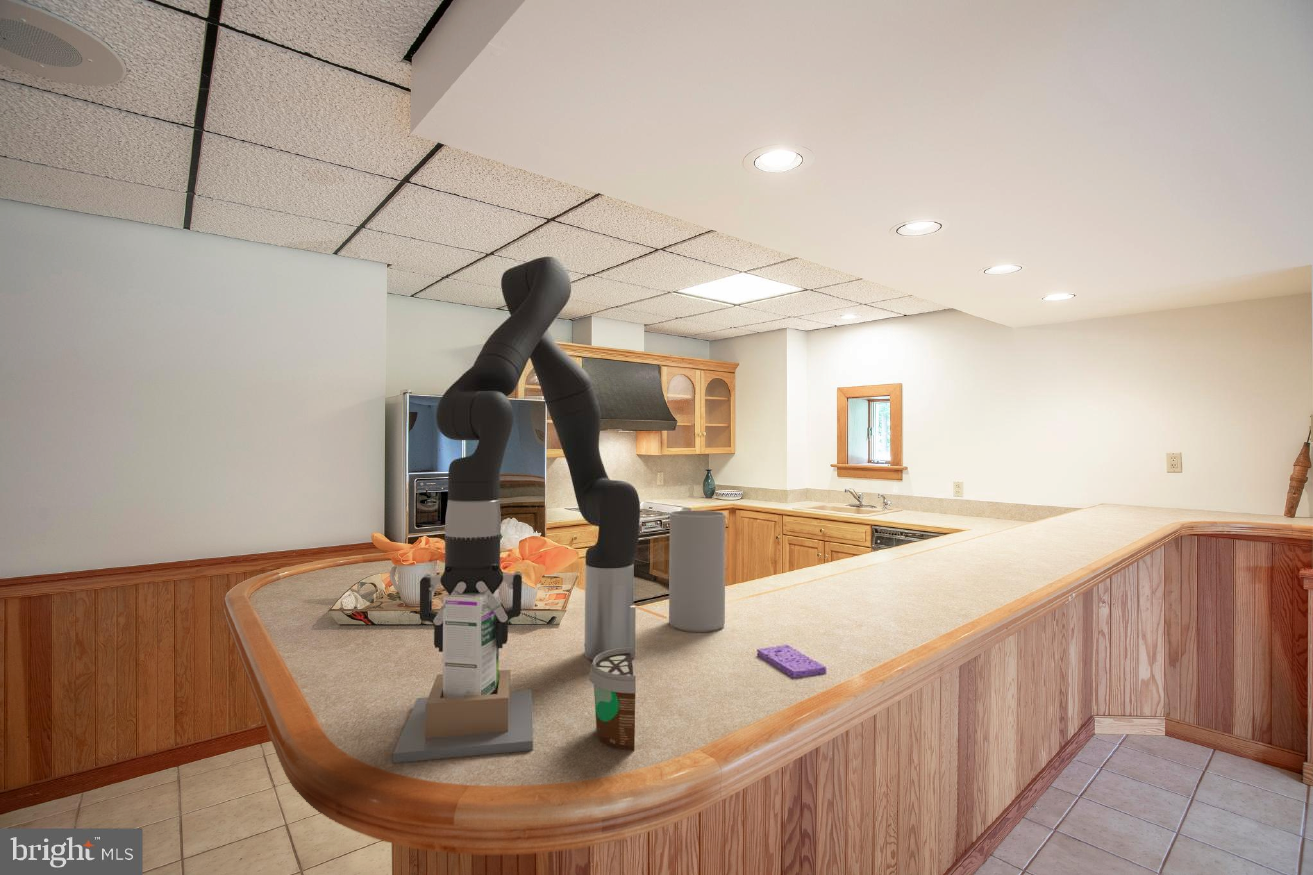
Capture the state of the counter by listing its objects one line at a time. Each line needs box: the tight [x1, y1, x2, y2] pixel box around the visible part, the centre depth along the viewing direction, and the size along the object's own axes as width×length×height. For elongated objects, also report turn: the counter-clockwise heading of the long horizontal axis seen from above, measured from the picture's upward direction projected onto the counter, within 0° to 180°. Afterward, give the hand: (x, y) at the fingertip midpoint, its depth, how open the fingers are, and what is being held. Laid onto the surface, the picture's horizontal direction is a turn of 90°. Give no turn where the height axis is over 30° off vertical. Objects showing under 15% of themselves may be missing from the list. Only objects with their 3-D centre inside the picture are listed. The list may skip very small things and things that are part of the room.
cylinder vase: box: [668, 510, 727, 633], centre depth 136 cm, size 12×12×25 cm
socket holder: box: [392, 669, 534, 764], centre depth 85 cm, size 17×17×6 cm
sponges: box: [756, 644, 827, 679], centre depth 111 cm, size 7×13×2 cm, turn 21°
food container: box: [588, 647, 637, 751], centre depth 83 cm, size 12×6×10 cm, turn 5°
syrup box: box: [442, 588, 500, 698], centre depth 85 cm, size 6×6×14 cm
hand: (471, 648), depth 85 cm, fingers closed on syrup box, 7 cm apart
